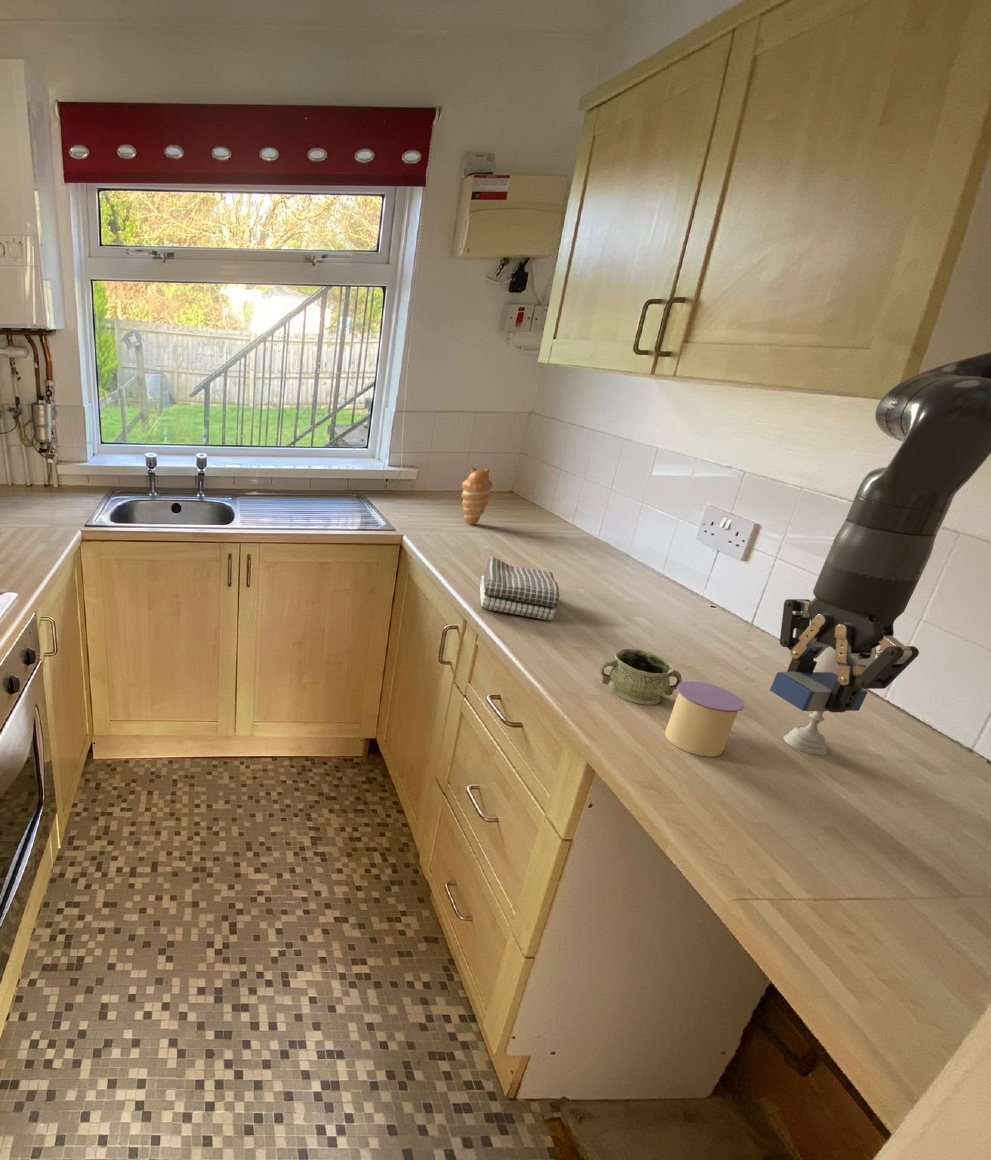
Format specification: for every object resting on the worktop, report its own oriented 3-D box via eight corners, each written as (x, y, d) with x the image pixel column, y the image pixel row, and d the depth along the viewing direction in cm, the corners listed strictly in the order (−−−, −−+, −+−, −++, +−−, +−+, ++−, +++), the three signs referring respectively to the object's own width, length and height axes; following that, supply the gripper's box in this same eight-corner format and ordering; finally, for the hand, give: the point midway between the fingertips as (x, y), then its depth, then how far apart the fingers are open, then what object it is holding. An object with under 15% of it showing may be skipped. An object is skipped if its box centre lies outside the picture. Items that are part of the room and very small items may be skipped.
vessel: (668, 687, 111) (678, 655, 109) (682, 713, 104) (694, 680, 101) (591, 673, 115) (600, 642, 113) (599, 698, 108) (609, 665, 105)
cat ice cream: (484, 521, 205) (494, 466, 198) (486, 528, 198) (497, 471, 191) (455, 519, 207) (464, 464, 200) (456, 526, 200) (466, 469, 193)
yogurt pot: (720, 736, 98) (738, 689, 95) (730, 765, 92) (749, 716, 88) (659, 721, 102) (674, 676, 98) (664, 747, 95) (680, 700, 92)
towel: (479, 613, 139) (485, 579, 136) (478, 583, 155) (484, 553, 152) (556, 624, 134) (564, 590, 131) (547, 593, 150) (554, 562, 147)
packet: (822, 690, 78) (831, 671, 77) (859, 711, 74) (868, 691, 73) (768, 690, 78) (776, 671, 77) (802, 711, 74) (811, 691, 73)
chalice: (825, 764, 92) (876, 655, 85) (768, 740, 97) (811, 635, 91) (841, 748, 96) (891, 641, 89) (785, 725, 101) (829, 623, 94)
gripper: (980, 590, 63) (905, 734, 70) (842, 544, 76) (791, 668, 83) (908, 590, 63) (840, 734, 69) (783, 543, 76) (735, 668, 82)
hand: (814, 697), depth 76 cm, fingers closed on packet, 4 cm apart
